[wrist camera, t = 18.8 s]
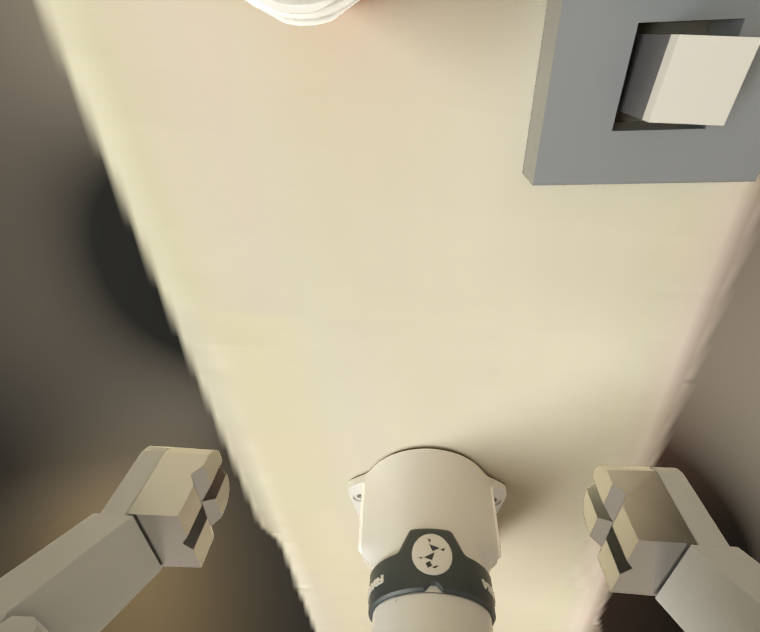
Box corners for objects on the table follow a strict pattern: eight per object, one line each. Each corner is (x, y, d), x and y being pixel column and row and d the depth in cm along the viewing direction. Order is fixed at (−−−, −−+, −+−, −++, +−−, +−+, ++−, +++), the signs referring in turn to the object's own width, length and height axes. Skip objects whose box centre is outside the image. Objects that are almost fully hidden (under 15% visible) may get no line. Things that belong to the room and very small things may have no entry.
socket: (726, 169, 30) (755, 181, 27) (522, 172, 31) (532, 185, 28) (848, -135, 22) (906, -156, 19) (565, -117, 23) (584, -135, 20)
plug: (667, 109, 28) (723, 125, 23) (606, 106, 28) (648, 122, 23) (694, 36, 26) (762, 37, 21) (627, 34, 26) (679, 34, 21)
